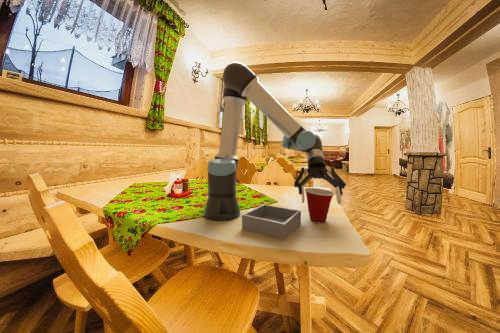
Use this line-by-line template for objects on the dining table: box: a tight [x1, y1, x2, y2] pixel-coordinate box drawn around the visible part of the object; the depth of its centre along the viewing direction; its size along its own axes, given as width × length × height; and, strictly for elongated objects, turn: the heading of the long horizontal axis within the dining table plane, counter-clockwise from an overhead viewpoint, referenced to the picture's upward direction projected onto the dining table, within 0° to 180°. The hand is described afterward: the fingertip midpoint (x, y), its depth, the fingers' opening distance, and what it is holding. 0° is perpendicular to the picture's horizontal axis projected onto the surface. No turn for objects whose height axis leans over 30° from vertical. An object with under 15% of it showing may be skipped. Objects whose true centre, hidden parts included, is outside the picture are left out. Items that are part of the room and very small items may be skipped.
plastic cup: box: [304, 187, 335, 224], centre depth 72 cm, size 11×11×12 cm
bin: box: [241, 203, 302, 241], centre depth 67 cm, size 16×16×5 cm
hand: (321, 201), depth 73 cm, fingers open, 13 cm apart
